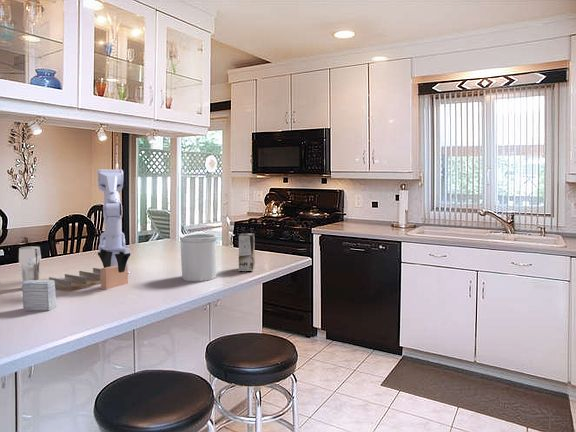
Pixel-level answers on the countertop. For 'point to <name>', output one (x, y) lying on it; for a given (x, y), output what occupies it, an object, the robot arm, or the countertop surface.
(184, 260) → the utensil holder
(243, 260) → the coffee box
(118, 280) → the salmon pink box
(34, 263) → the beer glass
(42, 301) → the medicine box
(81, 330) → the countertop surface
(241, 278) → the countertop surface
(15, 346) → the countertop surface
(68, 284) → the dish rack
